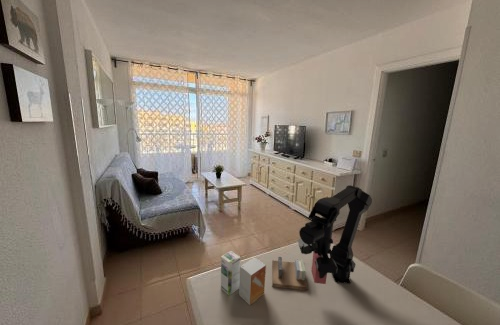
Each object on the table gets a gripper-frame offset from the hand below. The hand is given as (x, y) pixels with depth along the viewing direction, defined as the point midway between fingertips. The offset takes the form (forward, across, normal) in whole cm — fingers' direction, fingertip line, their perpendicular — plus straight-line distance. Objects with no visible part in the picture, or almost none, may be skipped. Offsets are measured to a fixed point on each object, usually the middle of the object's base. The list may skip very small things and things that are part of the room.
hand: (318, 271), depth 77 cm
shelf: (+12, -10, -10) cm, 18 cm away
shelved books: (+10, -10, -5) cm, 15 cm away
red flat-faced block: (+3, 0, 0) cm, 3 cm away
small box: (+12, +2, -25) cm, 28 cm away
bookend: (+10, -10, -14) cm, 20 cm away
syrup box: (+12, 0, -34) cm, 36 cm away
